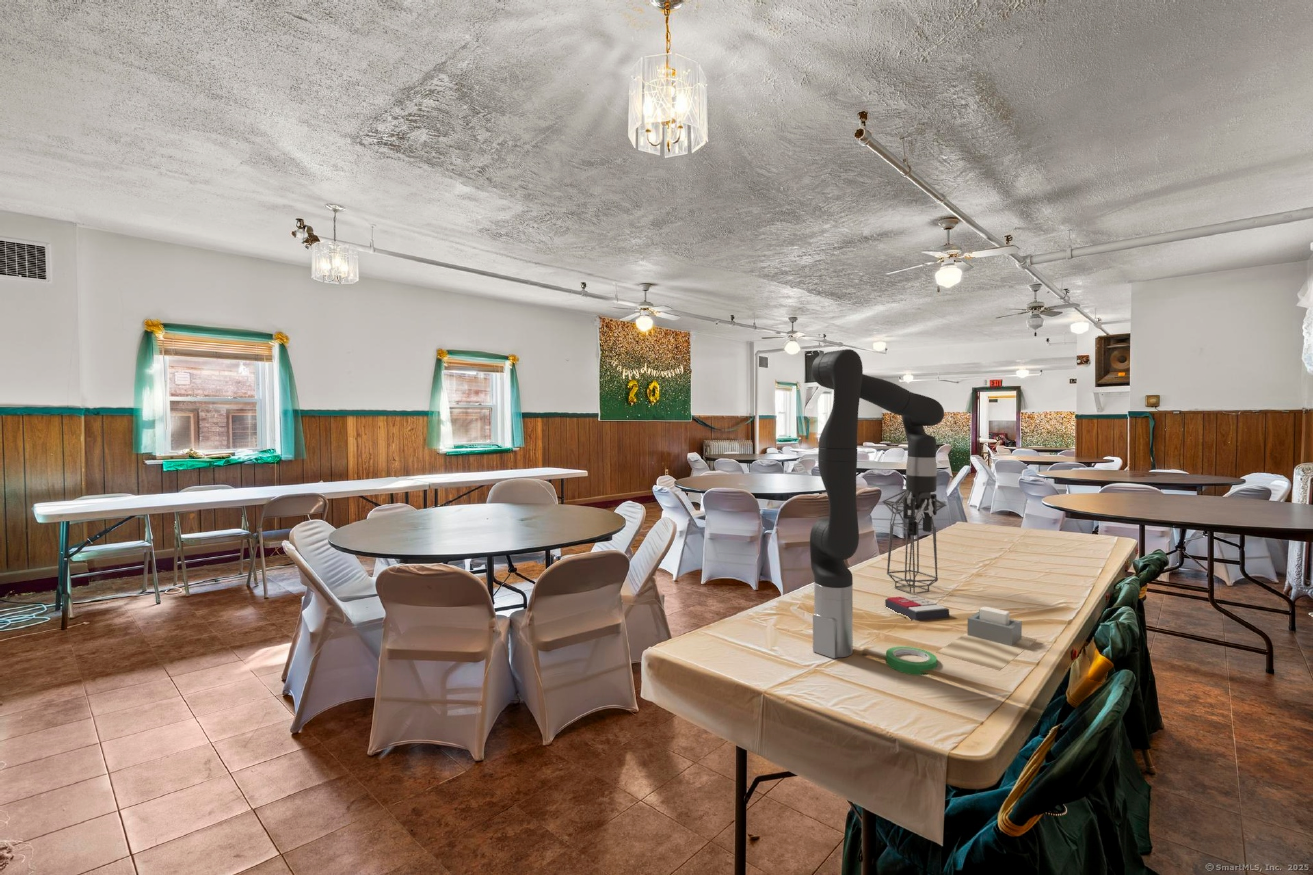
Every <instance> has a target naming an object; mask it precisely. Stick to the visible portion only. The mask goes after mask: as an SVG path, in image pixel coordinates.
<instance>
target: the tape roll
mask: <svg viewBox="0 0 1313 875" xmlns="http://www.w3.org/2000/svg"><path fill="white" fill-rule="evenodd" d="M899 655H912V656H917V657H919V658H923V659H925V660H924V661H911V660H906V659H903V658H901V657H898V656H899ZM885 659H886V660H885V663H886V664H887V666H888V667H890V668H891V669H892V670H895V671H897V672H901V673H903V674H908V675H913V676H927V675H930V673H928V672H926V671H930V670H933V669H936V667H938V658H937V656H936V655H935V654H934V653H931V652H930V651H928V650H924V649H923V648H922V649H921V648H917V647H911V646H894V647H891V648H888V649H887V650H886V651H885Z"/></svg>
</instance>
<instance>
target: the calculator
mask: <svg viewBox="0 0 1313 875" xmlns="http://www.w3.org/2000/svg"><path fill="white" fill-rule="evenodd" d="M884 601H885V602H884V603H885V604H884V606H886V607H888V608H890V609H892V610H894V611H895V612H897V613H901V614H903V615H906V616H908V617H909V618H910V619H911V621H910V622H912V621H917V622H919V621H928V620H939V619H947V618H950V608H947V607H946V606H943V605H941V604H938V603H937V602H934V601H932V600H930V599H925V598H924V597H921V596H919V595H916V594H913V595H905V596H896V597H895V596H893V597H887V598H886V599H885V600H884ZM886 607H885V608H886Z"/></svg>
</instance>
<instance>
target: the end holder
mask: <svg viewBox="0 0 1313 875" xmlns="http://www.w3.org/2000/svg"><path fill="white" fill-rule="evenodd" d="M1022 623H1023V622H1022V621H1021V620H1016V619H1012V618H1009V626H1005V625H1001V624H997V623H992V622H988V621H984V620H980V619H979V611H977V612H976V613H974V614H972V615H971V616H968V617H967V627H966V628H967V632H966V633H967V635H969V636H973V637H977V638H981V639H985V640H989V641H992V642H996V643H1000V644H1004V645H1008V646H1013V645H1014V644H1015V643H1017V642H1018V641H1019V640H1021V639H1022V636H1023V635H1022V634H1023V632H1022V629H1023V627H1022V626H1023V625H1022Z"/></svg>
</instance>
